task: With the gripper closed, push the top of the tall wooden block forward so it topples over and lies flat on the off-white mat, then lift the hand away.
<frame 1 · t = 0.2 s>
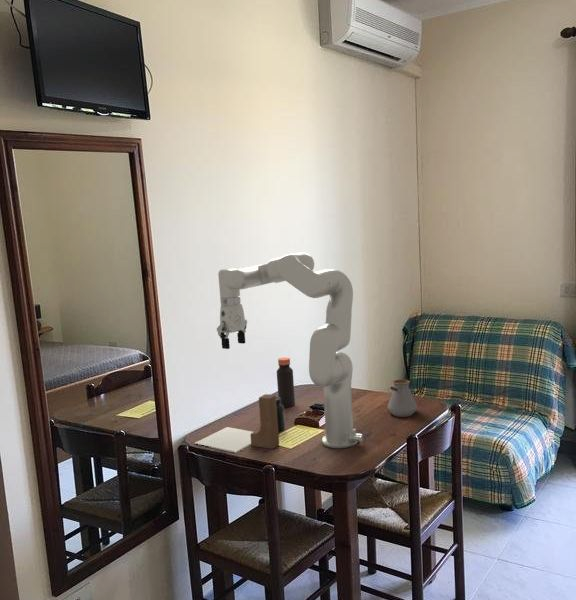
hand: (233, 345, 233), 31 cm above the table, tool pointing down, fingers open, 9 cm apart
supplement bottle: (276, 429, 229), on the table
coffee pot: (399, 418, 233), on the table
vinegar: (286, 405, 257), on the table
off-white mat: (231, 439, 220), on the table
wooden block: (265, 446, 213), on the table
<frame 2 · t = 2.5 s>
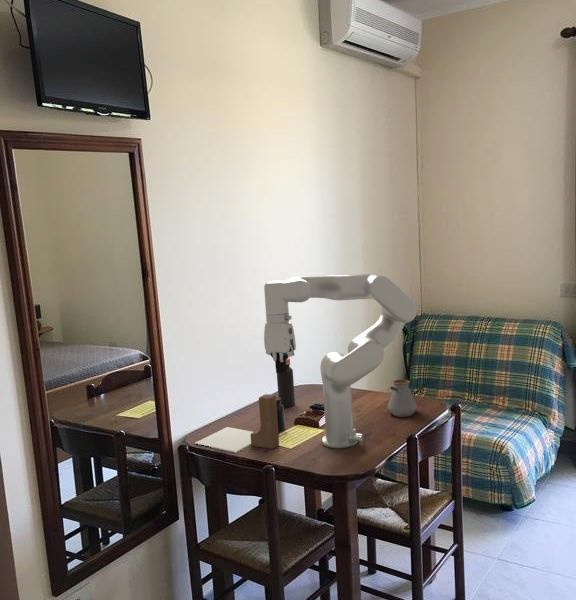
hand: (281, 372, 204), 27 cm above the table, tool pointing down, fingers closed
nothing on the table moved.
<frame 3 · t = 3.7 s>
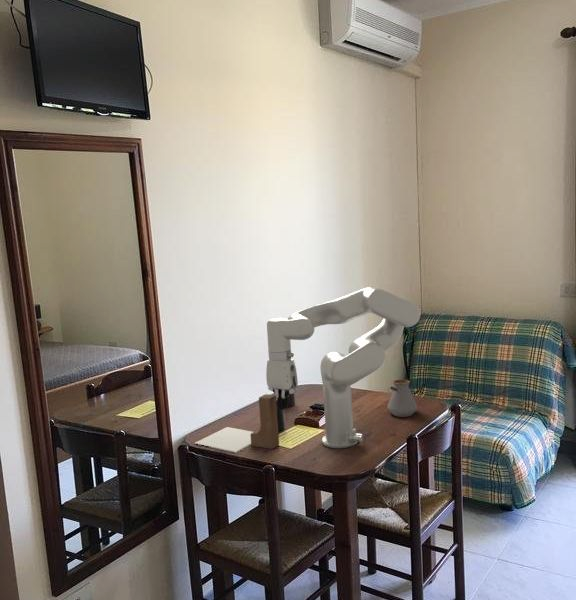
hand: (283, 408, 206), 15 cm above the table, tool pointing down, fingers closed
nothing on the table moved.
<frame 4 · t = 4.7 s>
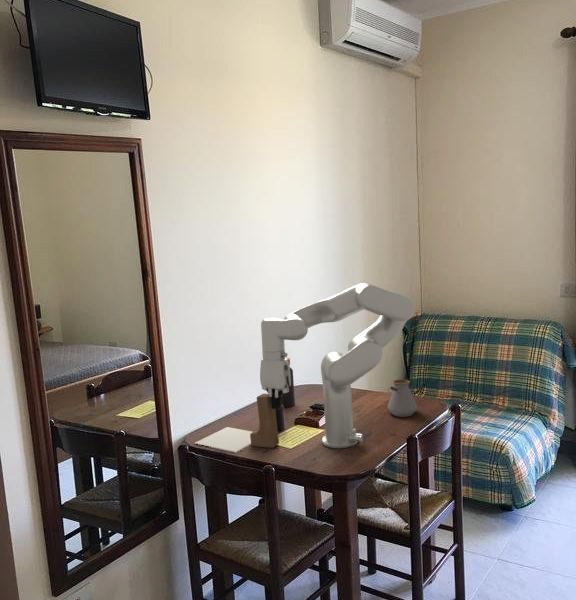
hand: (276, 407, 207), 15 cm above the table, tool pointing down, fingers closed
wooden block: (265, 445, 213), on the table, touching gripper
everything else where it was.
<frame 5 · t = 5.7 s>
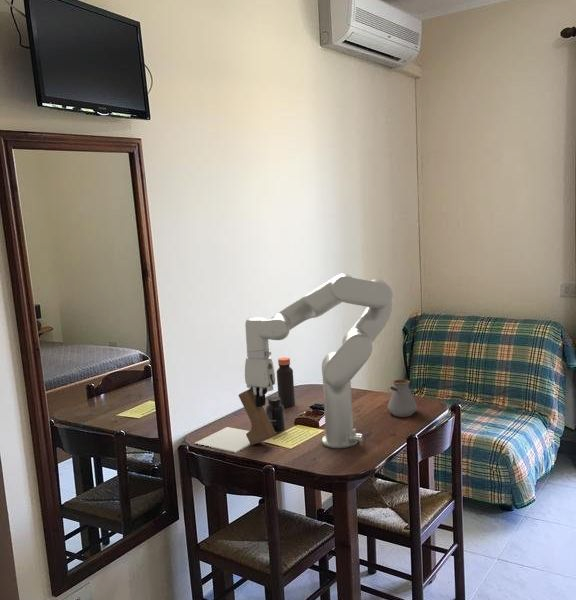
hand: (260, 405, 211), 14 cm above the table, tool pointing down, fingers closed
wooden block: (263, 440, 213), point 2 cm above the table
everything else where it was.
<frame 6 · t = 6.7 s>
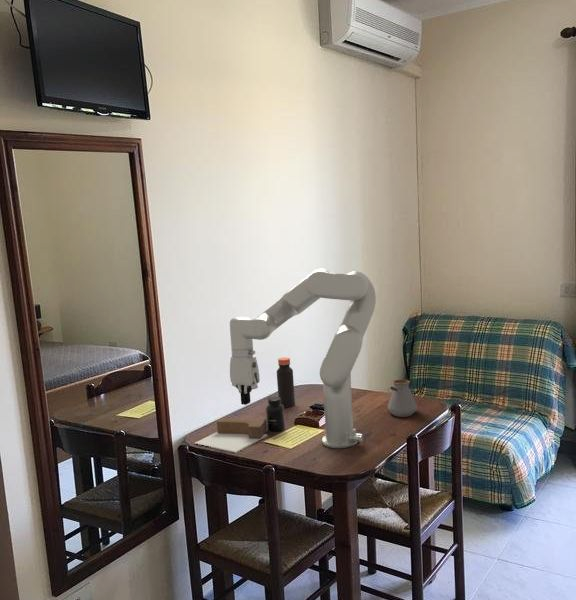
hand: (245, 403, 215), 14 cm above the table, tool pointing down, fingers closed
wooden block: (264, 428, 222), point 3 cm above the table, touching off-white mat
everything else where it was.
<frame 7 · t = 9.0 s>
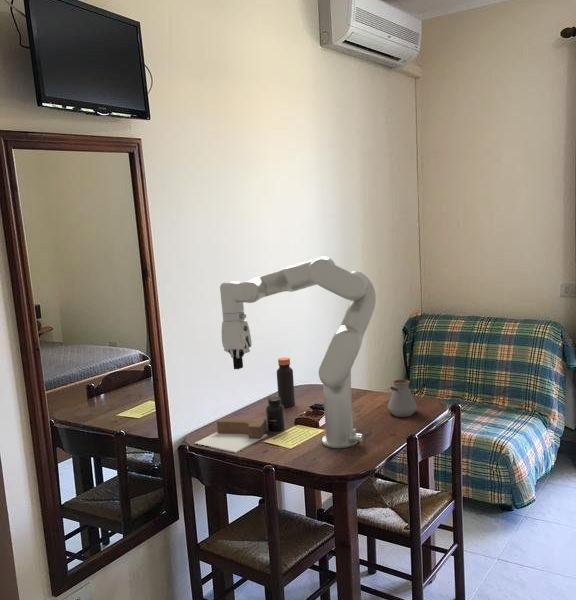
hand: (238, 368, 215), 27 cm above the table, tool pointing down, fingers closed
nothing on the table moved.
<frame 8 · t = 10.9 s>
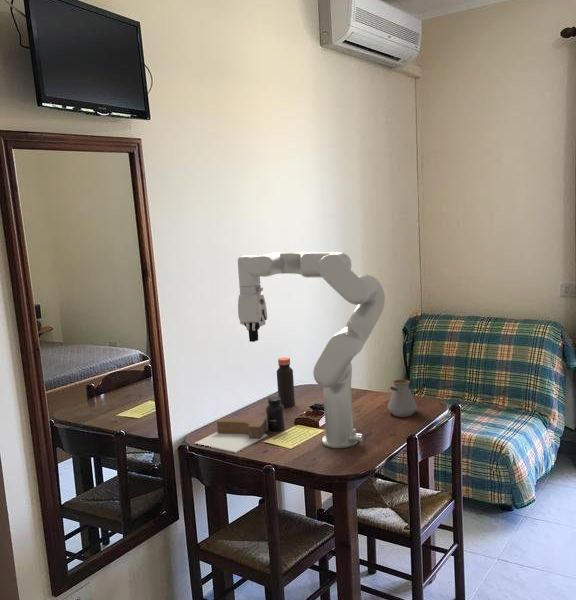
hand: (253, 340, 219), 35 cm above the table, tool pointing down, fingers closed
nothing on the table moved.
at the end: wooden block tilted 90°; wooden block inside the target area (9.8 cm from its centre), point 2.8 cm above the table; wooden block touching off-white mat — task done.
